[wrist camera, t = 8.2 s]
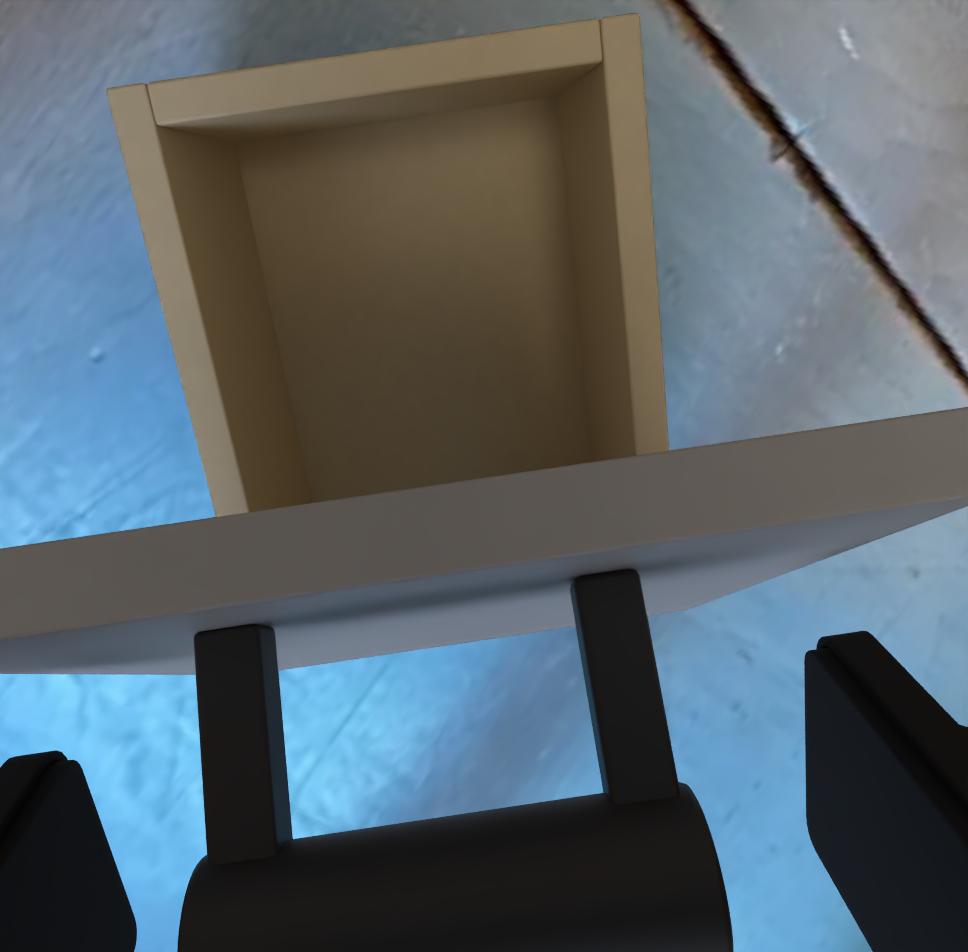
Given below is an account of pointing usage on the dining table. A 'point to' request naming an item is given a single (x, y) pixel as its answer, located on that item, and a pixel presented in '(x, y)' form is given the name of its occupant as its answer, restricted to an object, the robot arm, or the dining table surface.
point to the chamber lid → (454, 620)
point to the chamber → (406, 261)
